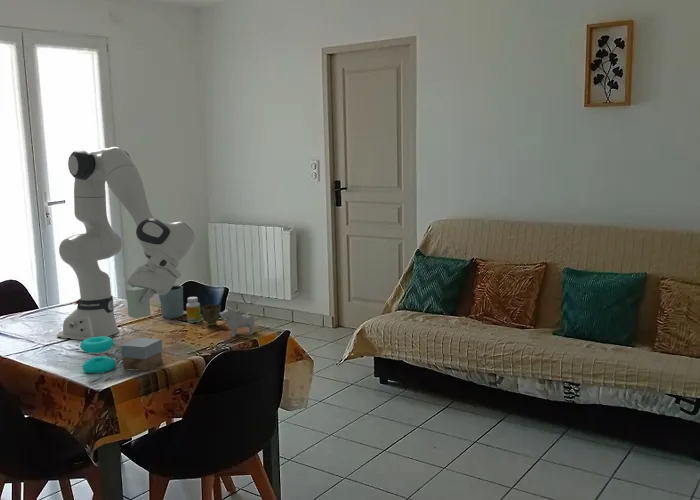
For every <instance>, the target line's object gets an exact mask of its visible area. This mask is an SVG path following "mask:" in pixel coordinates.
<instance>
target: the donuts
mask: <svg viewBox="0 0 700 500" xmlns="http://www.w3.org/2000/svg"><path fill="white" fill-rule="evenodd" d="M114 344H115V343H114V339H113V338H112V337H111V336H107V337H106V336H98V337H92V338H88V339H85V340H81V343H80V349H81V350H82V351H83V352H85V353H88V354H98V353H103V352H104V353H105V352H107V351H109V350H110V349H111V348H112V347H113V346H114ZM115 366H116V360H115V359H114V358H113V357H111V356H105V355H103V356H96V357H92V358H89V359H87V360H85V361H84V362H83V364H82V370H83V371H84V372H85V373H86V374H90V373H98V374H103V373H102V372H104V373H106V372H110V371H112V370H113V369H115Z"/></svg>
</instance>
